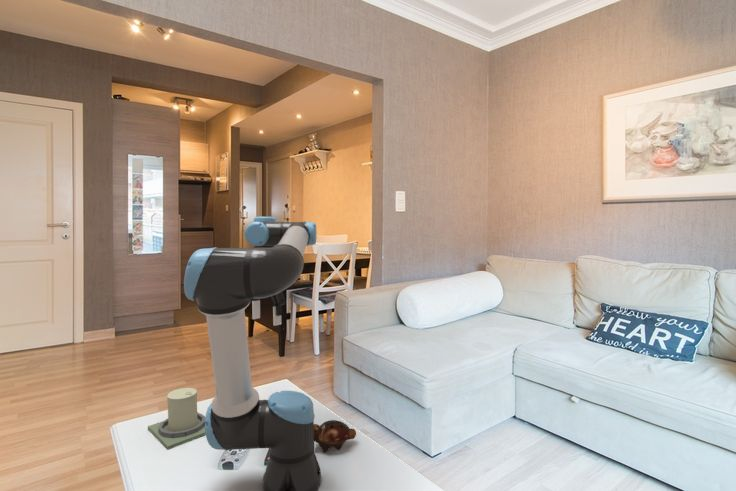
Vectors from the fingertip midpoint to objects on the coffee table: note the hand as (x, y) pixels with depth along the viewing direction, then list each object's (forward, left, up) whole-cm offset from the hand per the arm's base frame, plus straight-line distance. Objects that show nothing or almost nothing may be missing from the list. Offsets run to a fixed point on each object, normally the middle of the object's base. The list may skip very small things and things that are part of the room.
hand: (266, 321), depth 140 cm
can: (+14, +24, -34) cm, 44 cm away
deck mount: (+14, +24, -35) cm, 44 cm away
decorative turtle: (-30, -4, -35) cm, 46 cm away
